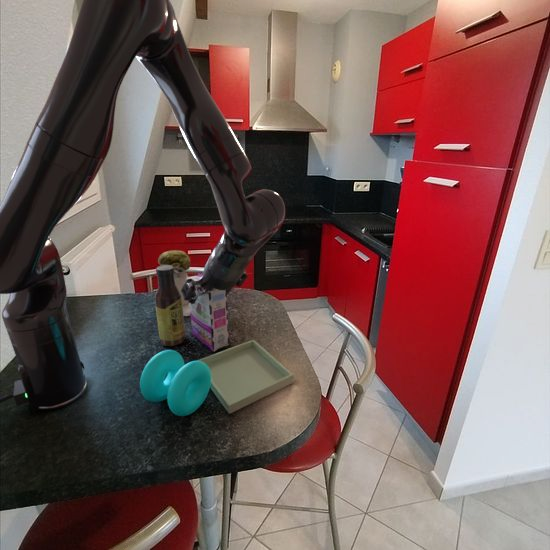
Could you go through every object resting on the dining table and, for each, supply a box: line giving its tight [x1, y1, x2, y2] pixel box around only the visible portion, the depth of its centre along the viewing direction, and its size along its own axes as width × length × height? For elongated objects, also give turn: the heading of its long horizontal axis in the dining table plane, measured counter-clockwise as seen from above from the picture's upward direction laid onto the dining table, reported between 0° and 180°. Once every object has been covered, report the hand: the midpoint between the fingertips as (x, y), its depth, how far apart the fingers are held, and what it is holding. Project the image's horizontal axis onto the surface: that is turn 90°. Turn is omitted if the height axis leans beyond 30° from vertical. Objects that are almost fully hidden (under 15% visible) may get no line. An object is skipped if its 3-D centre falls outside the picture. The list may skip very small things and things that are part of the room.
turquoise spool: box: [139, 349, 211, 417], centre depth 61 cm, size 10×10×10 cm
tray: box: [196, 339, 295, 415], centre depth 70 cm, size 15×16×2 cm
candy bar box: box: [187, 273, 230, 353], centre depth 80 cm, size 11×5×16 cm, turn 42°
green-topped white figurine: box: [157, 249, 191, 317], centre depth 95 cm, size 12×13×18 cm
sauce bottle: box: [154, 265, 186, 347], centre depth 79 cm, size 7×6×20 cm
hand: (207, 296), depth 78 cm, fingers open, 8 cm apart
